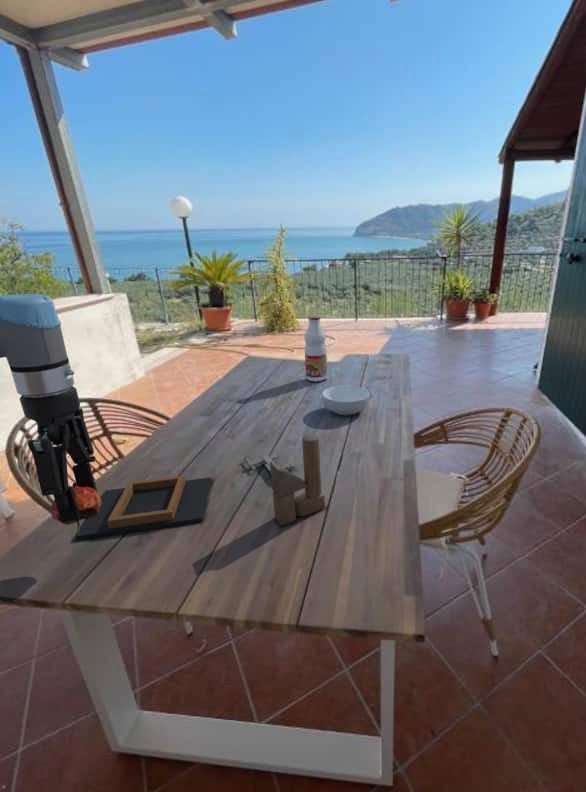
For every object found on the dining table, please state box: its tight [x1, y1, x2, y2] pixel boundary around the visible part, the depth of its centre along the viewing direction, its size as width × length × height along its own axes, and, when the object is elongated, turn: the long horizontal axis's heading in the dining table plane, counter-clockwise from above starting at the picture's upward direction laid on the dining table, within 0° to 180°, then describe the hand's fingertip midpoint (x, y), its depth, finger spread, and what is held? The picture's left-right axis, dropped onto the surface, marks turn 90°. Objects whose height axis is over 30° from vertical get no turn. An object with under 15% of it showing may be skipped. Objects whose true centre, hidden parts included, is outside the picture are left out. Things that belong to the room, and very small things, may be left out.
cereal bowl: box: [321, 385, 370, 416], centre depth 139 cm, size 17×17×7 cm
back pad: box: [75, 475, 212, 541], centre depth 88 cm, size 24×16×3 cm, turn 103°
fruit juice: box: [303, 315, 328, 378], centre depth 168 cm, size 9×9×28 cm
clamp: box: [243, 455, 295, 474], centre depth 103 cm, size 15×2×10 cm
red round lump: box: [50, 482, 101, 534], centre depth 71 cm, size 7×7×10 cm
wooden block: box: [270, 433, 326, 526], centre depth 84 cm, size 4×11×18 cm, turn 125°
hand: (80, 506), depth 72 cm, fingers closed on red round lump, 7 cm apart
